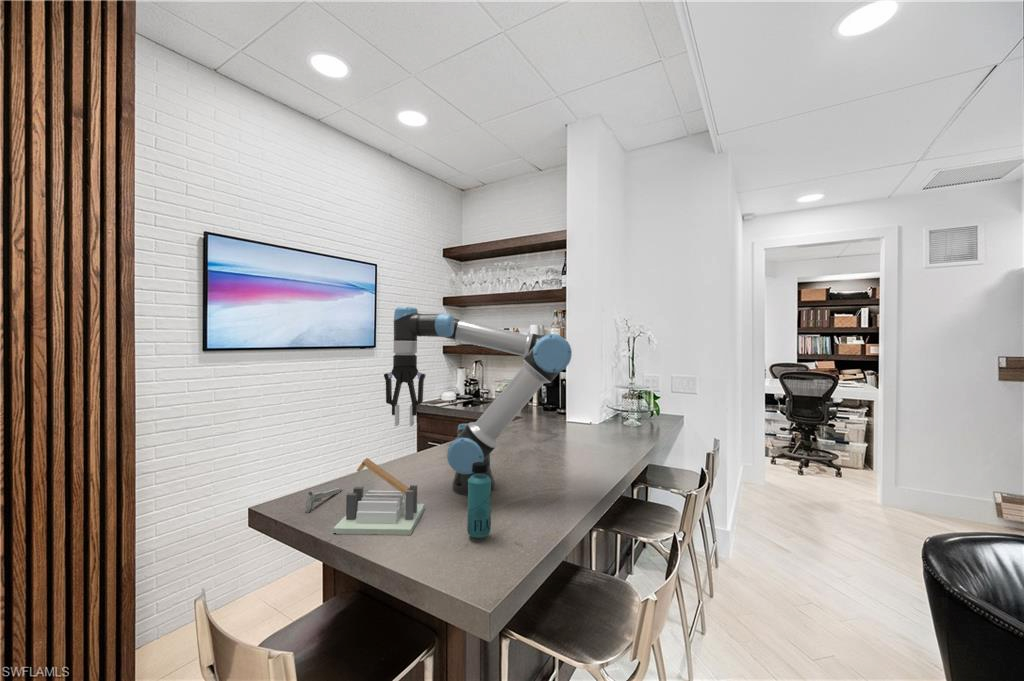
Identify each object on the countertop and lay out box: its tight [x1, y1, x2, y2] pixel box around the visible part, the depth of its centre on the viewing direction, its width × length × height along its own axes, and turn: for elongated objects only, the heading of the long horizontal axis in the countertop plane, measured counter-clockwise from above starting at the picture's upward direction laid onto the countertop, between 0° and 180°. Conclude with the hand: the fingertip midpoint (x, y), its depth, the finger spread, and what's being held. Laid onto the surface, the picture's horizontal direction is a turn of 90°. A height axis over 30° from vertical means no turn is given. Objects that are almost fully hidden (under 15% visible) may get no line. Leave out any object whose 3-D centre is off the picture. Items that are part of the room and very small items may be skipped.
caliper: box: [305, 487, 344, 513], centre depth 138 cm, size 20×1×6 cm, turn 173°
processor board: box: [332, 484, 426, 536], centre depth 124 cm, size 21×18×10 cm
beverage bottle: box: [466, 462, 492, 538], centre depth 113 cm, size 6×7×20 cm
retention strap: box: [356, 457, 415, 496], centre depth 124 cm, size 18×3×4 cm
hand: (404, 425), depth 140 cm, fingers open, 4 cm apart
